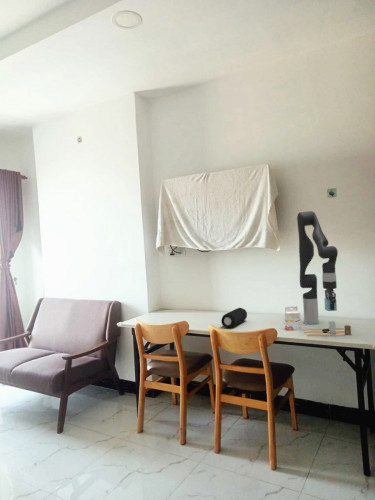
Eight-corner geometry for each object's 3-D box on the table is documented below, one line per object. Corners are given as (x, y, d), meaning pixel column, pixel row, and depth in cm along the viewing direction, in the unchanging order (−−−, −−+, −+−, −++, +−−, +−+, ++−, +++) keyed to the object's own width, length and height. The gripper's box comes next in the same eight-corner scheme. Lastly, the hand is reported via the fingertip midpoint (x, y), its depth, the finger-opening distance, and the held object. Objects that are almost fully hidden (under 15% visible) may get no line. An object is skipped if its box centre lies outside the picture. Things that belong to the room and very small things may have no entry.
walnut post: (344, 333, 208) (344, 325, 208) (349, 333, 207) (349, 325, 207) (346, 335, 205) (346, 326, 205) (351, 334, 205) (350, 326, 205)
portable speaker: (236, 320, 262) (235, 306, 262) (248, 321, 257) (247, 307, 257) (220, 328, 241) (219, 313, 241) (233, 329, 236) (233, 314, 235)
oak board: (302, 330, 222) (302, 329, 222) (343, 329, 220) (343, 328, 220) (308, 337, 206) (308, 336, 206) (352, 336, 204) (352, 335, 204)
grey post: (329, 333, 210) (329, 321, 210) (334, 333, 210) (333, 321, 210) (331, 334, 208) (330, 322, 208) (335, 334, 208) (335, 322, 207)
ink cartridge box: (287, 331, 222) (286, 308, 222) (285, 329, 227) (284, 306, 227) (301, 330, 222) (300, 307, 222) (298, 328, 227) (297, 305, 227)
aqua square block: (325, 309, 211) (324, 298, 211) (334, 308, 211) (333, 297, 211) (327, 311, 206) (326, 299, 206) (336, 310, 206) (336, 299, 206)
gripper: (319, 279, 216) (321, 307, 216) (326, 282, 201) (327, 311, 202) (332, 278, 215) (333, 306, 215) (340, 281, 201) (341, 311, 201)
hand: (330, 308), depth 209 cm, fingers closed on aqua square block, 5 cm apart
